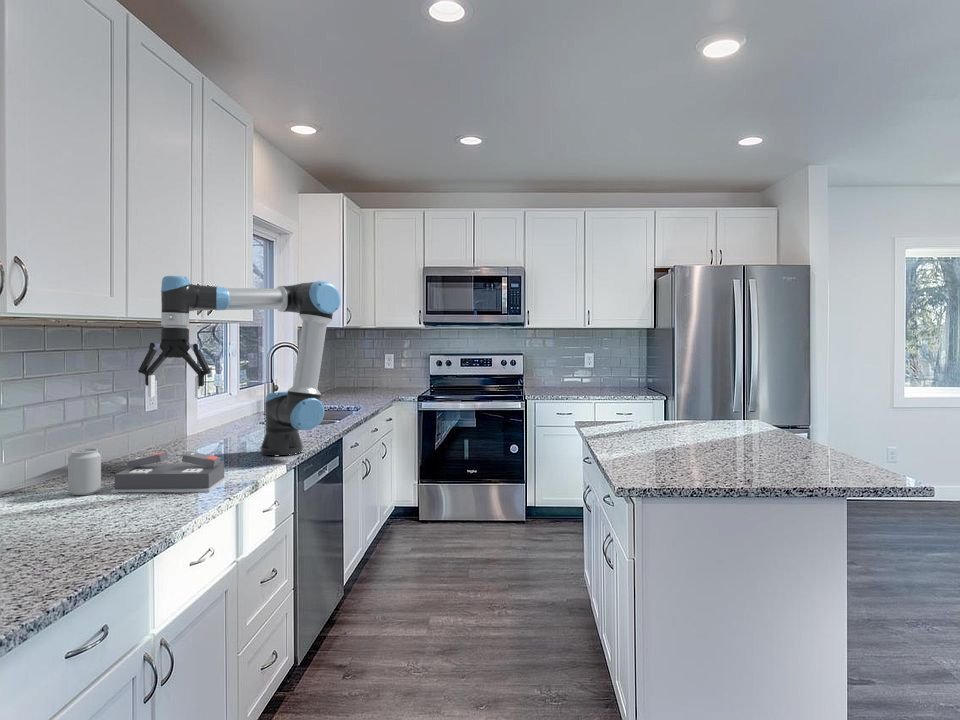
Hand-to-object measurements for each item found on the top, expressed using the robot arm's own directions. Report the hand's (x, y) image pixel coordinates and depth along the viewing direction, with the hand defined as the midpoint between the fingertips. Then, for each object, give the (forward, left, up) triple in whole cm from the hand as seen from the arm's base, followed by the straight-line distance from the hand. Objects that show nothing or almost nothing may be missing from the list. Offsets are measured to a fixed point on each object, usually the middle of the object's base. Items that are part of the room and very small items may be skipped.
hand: (174, 397), depth 176 cm
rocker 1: (+8, -4, -19) cm, 21 cm away
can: (+17, -17, -25) cm, 35 cm away
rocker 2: (+8, +10, -19) cm, 23 cm away
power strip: (+10, +3, -25) cm, 27 cm away
